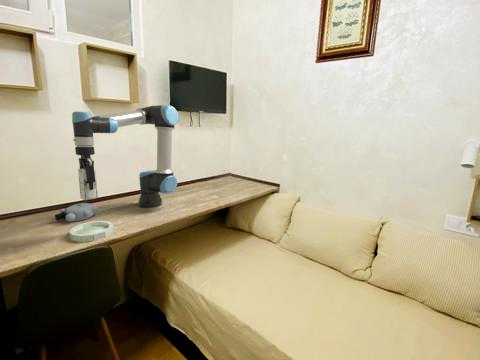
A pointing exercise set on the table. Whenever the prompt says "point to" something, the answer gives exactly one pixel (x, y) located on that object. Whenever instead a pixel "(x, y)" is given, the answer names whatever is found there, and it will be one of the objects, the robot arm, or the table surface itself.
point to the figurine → (77, 212)
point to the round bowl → (91, 231)
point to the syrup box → (84, 185)
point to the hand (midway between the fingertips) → (89, 194)
